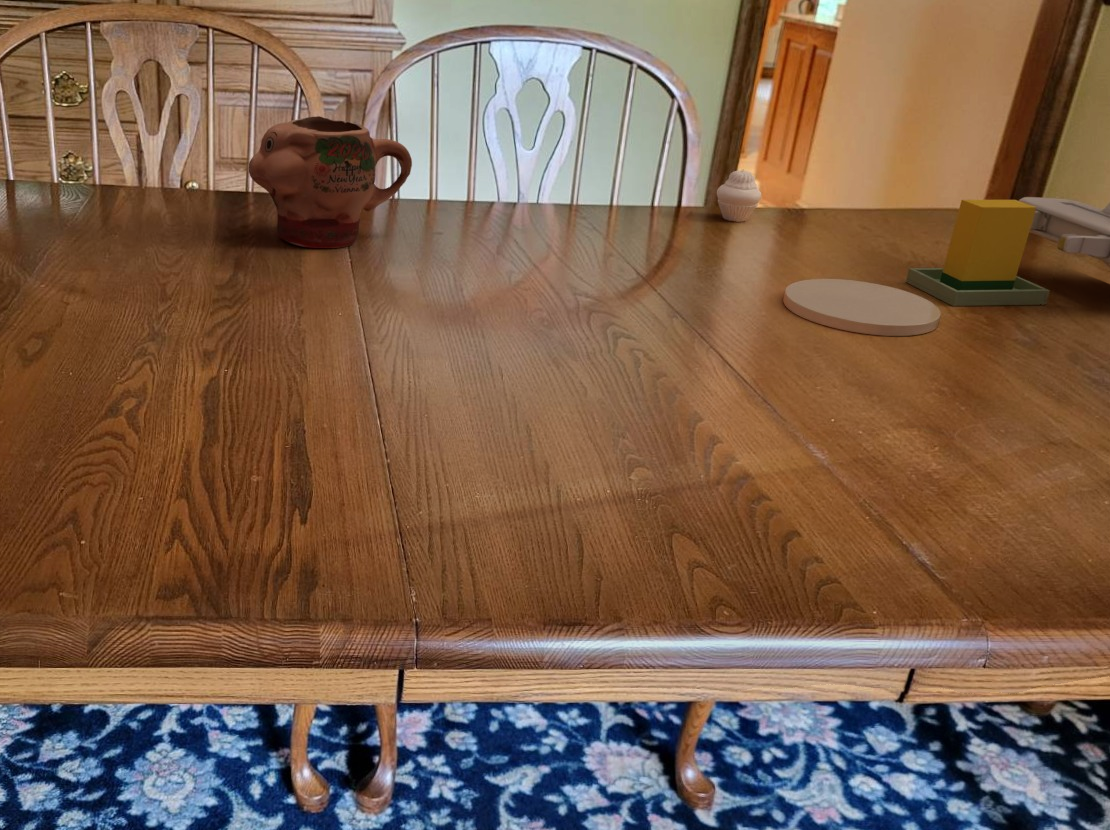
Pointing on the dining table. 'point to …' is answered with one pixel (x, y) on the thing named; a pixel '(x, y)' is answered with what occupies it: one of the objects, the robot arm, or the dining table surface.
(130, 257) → the dining table surface
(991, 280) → the sponge
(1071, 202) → the robot arm
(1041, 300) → the dish
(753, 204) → the muffin
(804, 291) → the plate
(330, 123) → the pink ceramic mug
